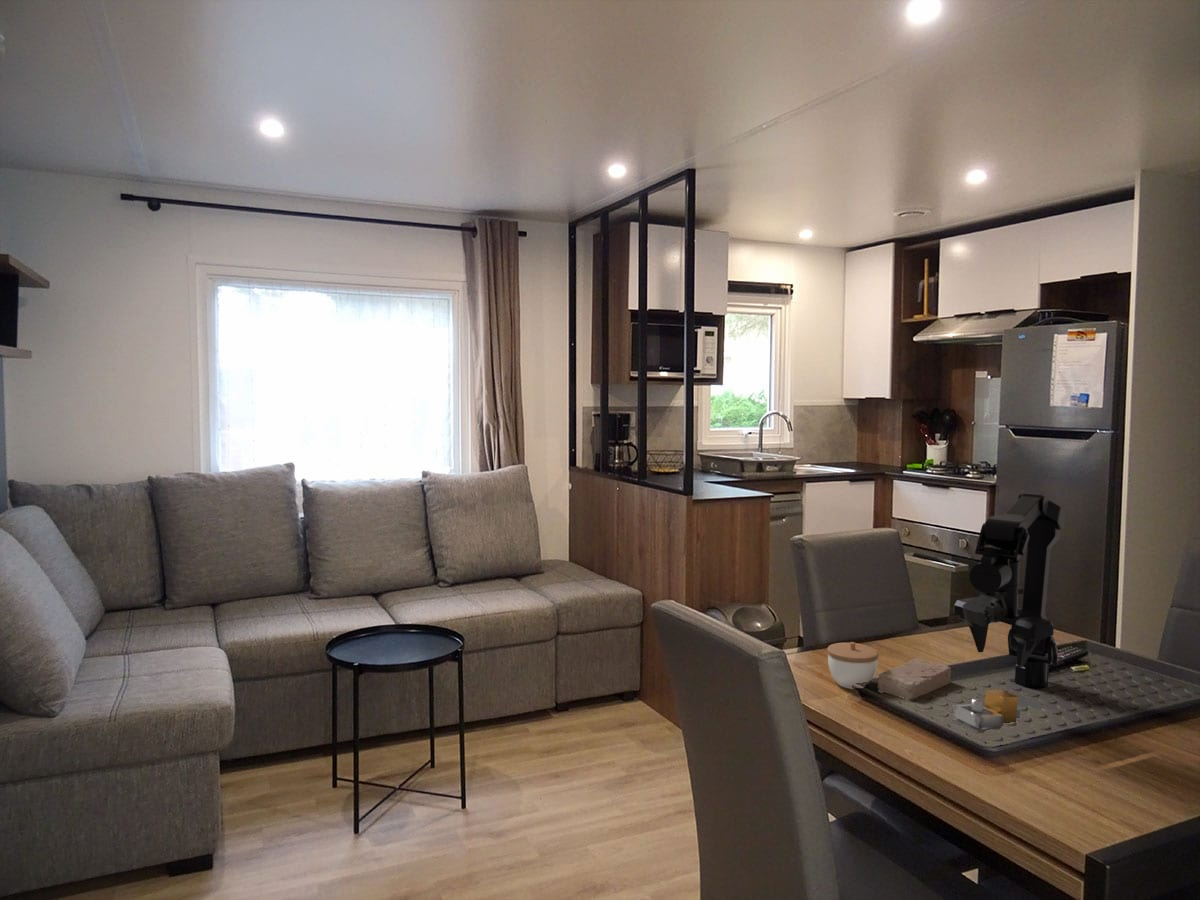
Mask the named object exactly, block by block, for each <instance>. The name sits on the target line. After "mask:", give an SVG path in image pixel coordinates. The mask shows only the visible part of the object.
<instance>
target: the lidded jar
mask: <svg viewBox="0 0 1200 900" xmlns="http://www.w3.org/2000/svg"><path fill="white" fill-rule="evenodd" d="M826 649H827V663H828V670H829V672H830V675H831V677H832V678H833V679H834V680H835V681H836V682H837V685H839V686H840V687H841V688H845V689H849V690H854V689H853V688H852V685H853V684H854V683H863V682H868V681H870V680H872V679H873V680H874V678H875V676H876V674H877V669H878V659H879V652H878V650H877V649H875V648H874V647H872V646H869V645H867V644H862V643H856V642H854V641H851V642H837V643H831V644H830V645H828V647H827V648H826ZM873 680H872V681H873Z"/></svg>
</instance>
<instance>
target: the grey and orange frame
mask: <svg viewBox="0 0 1200 900" xmlns="http://www.w3.org/2000/svg"><path fill="white" fill-rule="evenodd" d="M984 697H985V698H984V702H985V705H984V707H983V715H977V714H975V713H973V712H971V703H966V704H963V703H962V704H951V709H952V713H951V715H952V716H954V717H956V718H958V719H960V720H962V721H964V722H966V723H969V724H971V725H973V726H975V727H977V728H986V727H998V726H1003V723H1010V722H1016V718H1020V710H1017V705H1018V696H1017V695H1015V694H1013V693H1010V692H1008V691H1005V690H1003V689H989V690H988V689H986V690H985V696H984Z"/></svg>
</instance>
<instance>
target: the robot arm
mask: <svg viewBox="0 0 1200 900" xmlns="http://www.w3.org/2000/svg"><path fill="white" fill-rule="evenodd" d="M1065 524H1066V515H1065V513H1064V510H1063V508H1062V507H1061V506H1060V505H1058V504H1056V503H1055V502H1053V501H1051V500H1049V498H1048V495H1044V494H1042V493H1041V494H1040V493H1032V492H1031V493H1030V492H1023V493H1020V494H1019V495H1018V497H1017V500H1016V501H1015V502H1014V504H1013V505H1011V507H1010V508H1009V509H1008V510H1007V511H1006V512H1004V513H1003V514H998V515H992V516H990V517H989V518H987V519H986V520H985V522H984V523H983V524H982V526H981V529H980V532H979V535H978V540H977V542H976V548H975V551H974V554H975V555H978V556H980V562H978V563H977V564H975V565H974V566H973V567H972V568H971V569H970V572H969V581H970V584H971V585H972V586H973V588H975V590H977V591H979V592H980V593H979V596H977V597H976V596H975V597H968V598H962V599H957V600H956V602H955V603H954V605H953V614H954V615H957V616H958V619H959V620H962V621H963V622H964V623H965V624H967V626H968V627H969V630H970V633H971V635H972V639H973V641H974V644H975V647H976V650H977V652H978V653H983V652H984V650H985V647H986V641H987V636H988V630H989V625H990V623H992V622H994V623H998V622H1001V623H1003V624H1006V625H1010V629H1009V631H1008V633H1007V646H1008V656H1009V657H1015V658H1016V659H1015V660H1016V662H1015V663H1016V664H1015V665H1014V666H1015V668H1014V678H1010V679H1009V681H1010V682H1012V683H1015V684H1017V685H1020V686H1021V687H1024V688H1025V687H1026V688H1028V689H1030V690H1040V689H1041V690H1042V689H1046V688H1052V687H1055V684H1053V683H1049V671H1050V670H1049V669H1050V667H1049V665H1051V666H1052V665H1053V664H1058V663H1059V662H1058V661H1059V660H1058V659H1059V654H1058V652H1059V649H1058V646H1057V643H1056V641H1055V637H1054V627H1055V626H1054V624H1053V623H1052V622H1051V620H1050V619H1048V617H1047V614H1046V608H1047V597H1048V585H1049V576H1050V574H1049V573H1050V563H1051V552H1052V548H1053V546H1055V544H1056V543H1057V542H1058V541H1059V540H1060V538H1061V535H1062V531H1063V530H1064V528H1065ZM1025 553H1026V557H1025V558H1026V560H1025V569H1024V580H1023V581H1024V582H1023V588H1022V587H1020V585H1019V584H1020V562H1021V561H1020V559H1021V558H1022V556H1024V555H1025ZM1019 595H1022V603H1021V608H1020V607H1019Z"/></svg>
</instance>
